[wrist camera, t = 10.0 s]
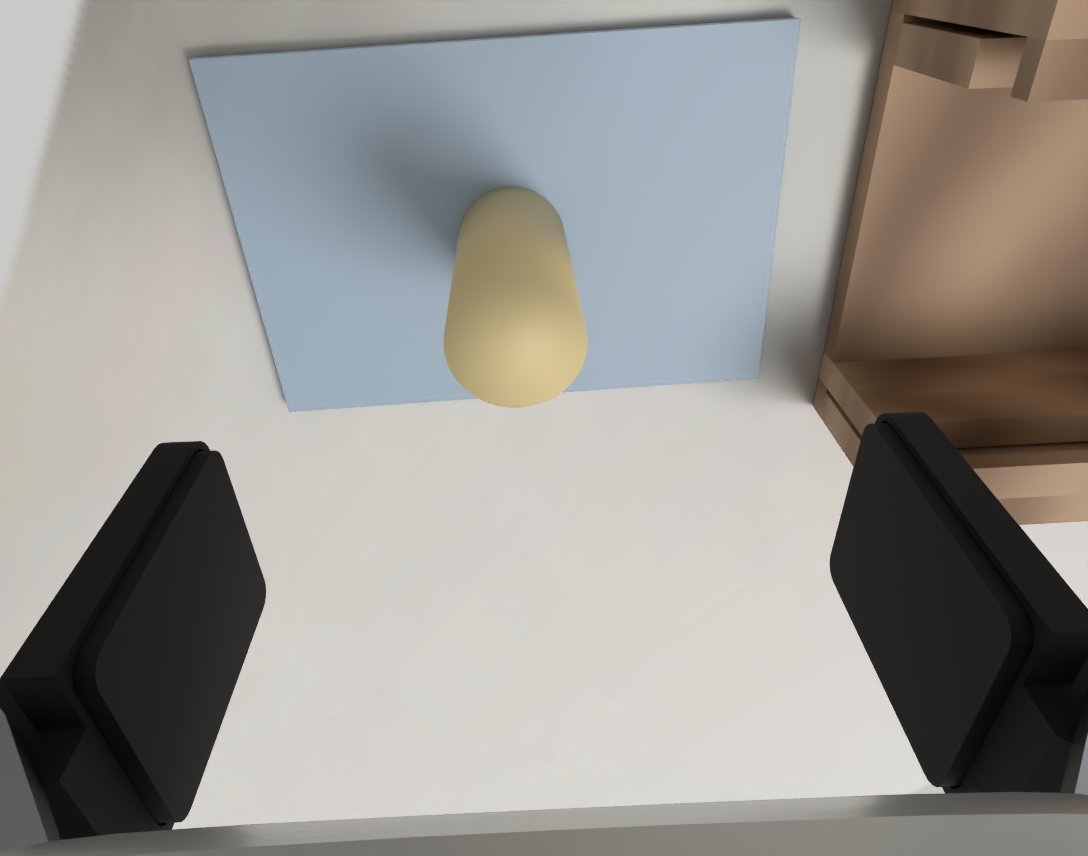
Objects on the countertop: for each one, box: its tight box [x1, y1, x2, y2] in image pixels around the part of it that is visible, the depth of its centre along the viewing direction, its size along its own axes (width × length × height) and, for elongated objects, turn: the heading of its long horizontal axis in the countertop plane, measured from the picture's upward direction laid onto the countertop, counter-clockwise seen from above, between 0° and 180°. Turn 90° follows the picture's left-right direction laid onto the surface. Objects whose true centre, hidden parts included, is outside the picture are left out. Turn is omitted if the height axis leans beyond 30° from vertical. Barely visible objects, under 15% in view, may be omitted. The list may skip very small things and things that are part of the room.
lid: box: [189, 17, 800, 412], centre depth 20 cm, size 16×11×8 cm
